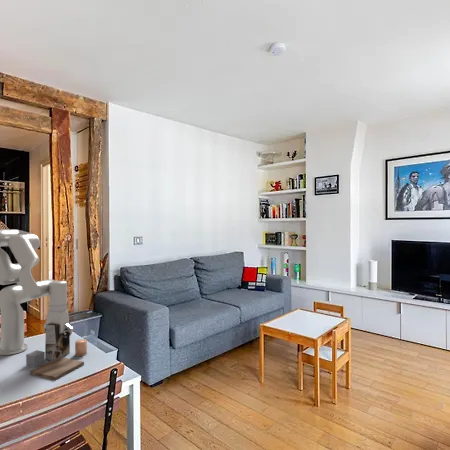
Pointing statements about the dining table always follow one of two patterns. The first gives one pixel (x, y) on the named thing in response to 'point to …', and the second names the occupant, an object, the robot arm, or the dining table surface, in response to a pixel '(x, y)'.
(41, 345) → the dining table surface
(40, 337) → the dining table surface
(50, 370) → the walnut board
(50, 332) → the coffee box
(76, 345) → the terracotta cylinder
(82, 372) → the dining table surface
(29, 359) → the grey block
